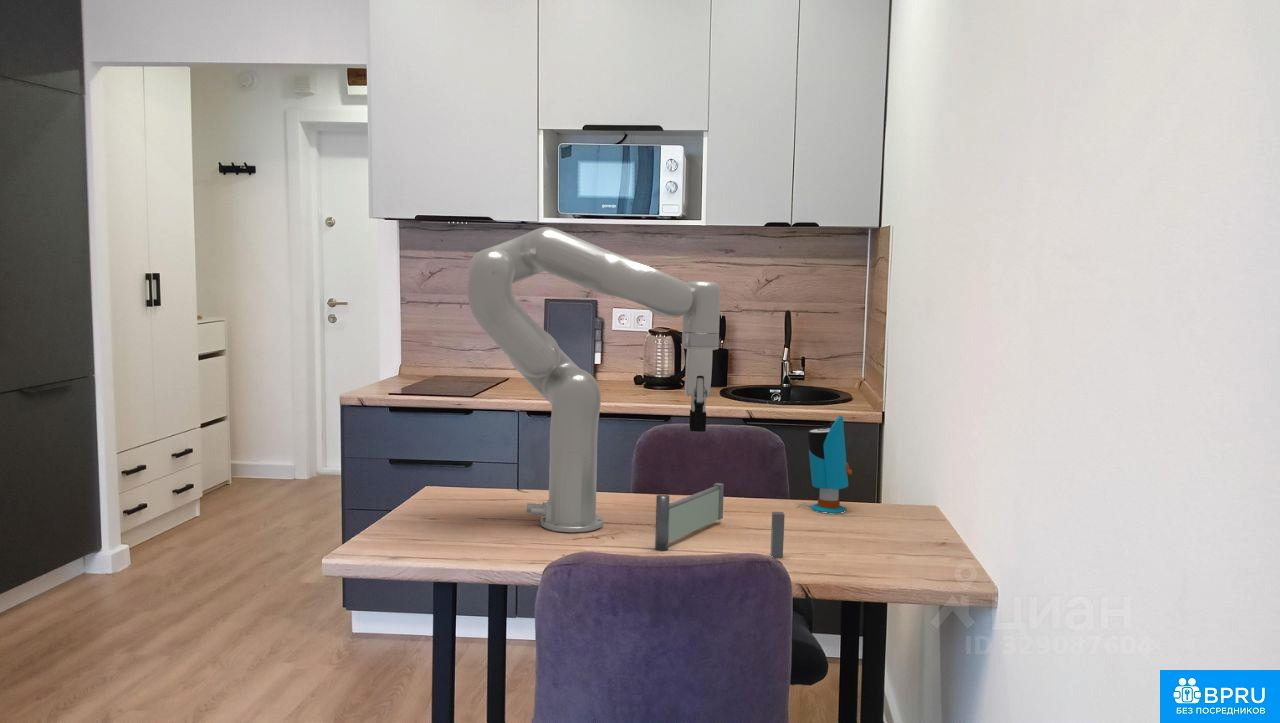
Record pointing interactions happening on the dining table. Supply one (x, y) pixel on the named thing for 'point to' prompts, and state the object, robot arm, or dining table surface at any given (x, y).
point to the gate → (695, 511)
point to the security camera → (828, 465)
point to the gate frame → (663, 528)
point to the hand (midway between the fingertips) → (697, 429)
